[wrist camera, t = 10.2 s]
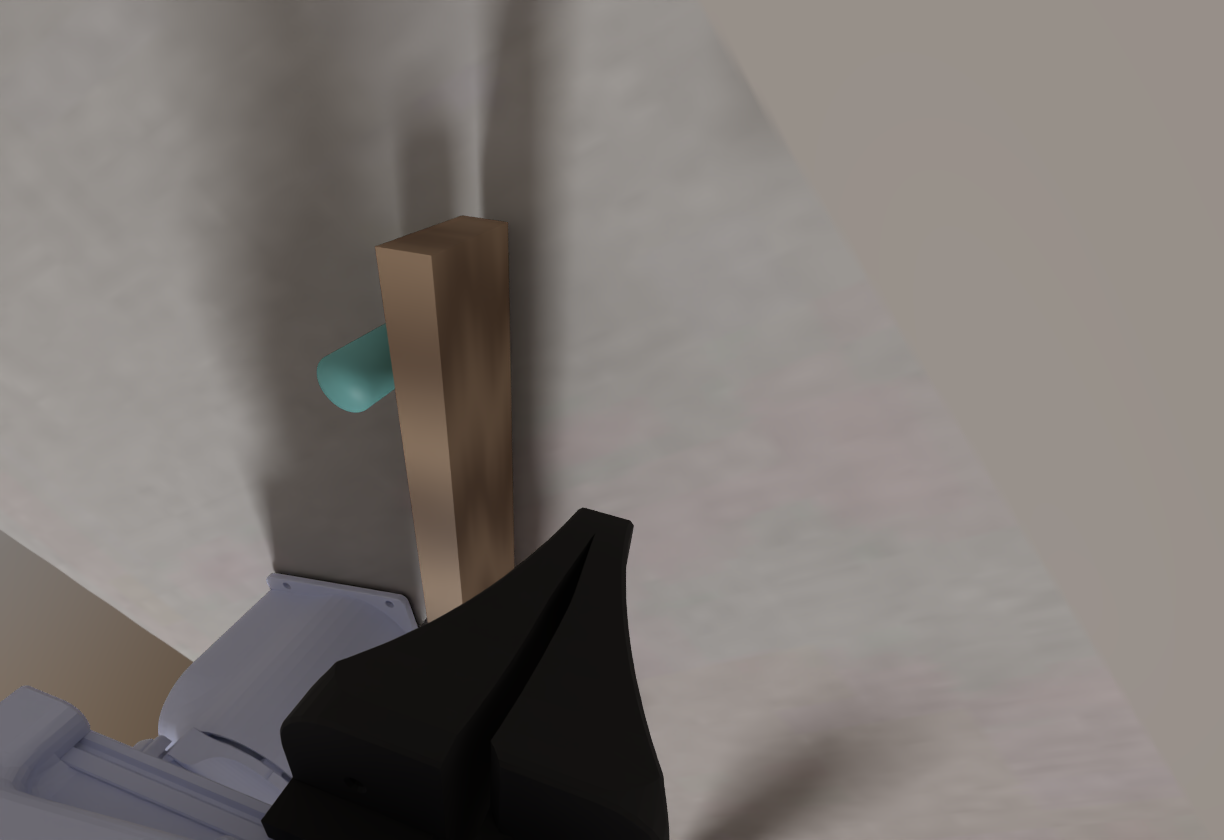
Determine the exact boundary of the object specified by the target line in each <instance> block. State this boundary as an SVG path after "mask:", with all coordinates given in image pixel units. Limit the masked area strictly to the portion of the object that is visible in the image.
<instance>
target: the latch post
mask: <svg viewBox="0 0 1224 840" xmlns="http://www.w3.org/2000/svg"><path fill="white" fill-rule="evenodd" d="M317 379H318V382H319V385H320V387H321V389H322V391H323V392H324V394H325V395H326V396H327V397H328V398H329V400H330V401H332V402H333V403H334V404H335V405H336V406H338V407H340V408H341V409H343V410H346V411H349V412H362V411H365V410H366V409H368V408H369V407H370V406H372V405H373V404H375V403H376V402H377V401H379V400H380V399H381V398H383V397H384V396H386V395H387V394H388V393H390V392H391V391H392V390H394V389H395V385H394V378H393V371H392V364H391V357H390V350H389V343H388V335H387V328H386V323H385V324H383V325H381V326H380V327H378V328H376V329H374V330H372V331H371V332H369V333H367V334H365V335H363V336H362V337H360V338H358V339H356V340H354V341H353V342H351V343H349V344H347V345H345V346H344V347H342V348H340V349H338V350H336V351H334V352H333V353H331V354H329V355H327V356H325V357H324V358H322V359H321V360H320V362H319V364H318V366H317Z"/></svg>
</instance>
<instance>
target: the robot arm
mask: <svg viewBox="0 0 1224 840" xmlns="http://www.w3.org/2000/svg"><path fill="white" fill-rule="evenodd" d="M633 527H634V525H633V524H632V522H631V521H630V520H626V519H623V518H619V517H615V516H612V515H608V514H605V513H601V512H598V511H594V510H590V509H587V508H581V509H579V510H578V511H577V512H576V513H575V514H574V515H573V516H572V517H571V518H570V519H569V520H568V521H567V522H566V523H565V524H564V525H563V526H562V527H561V528H560V529H559V530H558V531H557V532H556V533H555V534H554V535H553V536H552V537H551V538H550V539H549V540H548V541H546V542H545V543H544V544H543V545H542V546H541V547H539V548H538V549H537V550H536V551H535V552H534V553H533V554H531V555H530V556H529V557H528V558H527V559H525V560H524V561H523V562H522V563H520V564H519V565H518V566H517V567H515V568H514V569H513V570H511V571H510V572H509V573H507V574H506V575H505V576H504V577H502V578H501V579H500V580H498V581H497V582H495V583H494V584H492V585H491V586H490V587H488V588H487V589H485V590H484V591H482V592H481V593H479V594H477V595H476V596H474V597H473V598H471V599H470V600H468V601H466V602H465V603H463V604H461V605H460V606H458V607H456V608H454V609H453V610H451V611H449V612H448V613H446V614H444V615H442V616H440V617H439V618H437V619H435V620H433V621H431V622H429V623H427V624H425V625H423V626H421V627H419V628H418V626H417V623H416V621H415V618H414V615H413V612H412V609H411V607H410V604H409V601H408V599H407V598H406V597H405V596H403V595H401V594H396V593H390V592H384V591H378V590H372V589H367V588H361V587H355V586H349V585H343V584H337V583H331V582H326V581H320V580H314V579H308V578H302V577H296V576H290V575H285V574H279V573H272V574H270V575H269V576H268V577H267V579H266V581H267V583H268V585H269V587H270V589H271V590H270V591H269V592H268V593H267V594H266V595H265V596H263V597H262V598H261V599H260V600H259V601H258V602H257V603H256V604H255V605H254V606H253V607H252V608H251V609H250V610H249V611H248V612H246V613H245V614H244V615H243V616H242V617H241V618H240V619H239V620H238V621H237V622H236V623H235V624H234V625H233V626H232V627H231V628H229V629H228V630H227V631H226V632H225V633H224V634H223V635H222V636H221V637H220V638H219V639H218V640H217V641H216V642H215V643H214V644H212V645H211V646H210V647H209V648H208V649H207V650H206V651H205V652H204V653H203V654H202V655H201V656H200V657H199V658H198V659H197V660H195V661H194V662H193V663H192V664H191V665H190V666H189V667H188V669H186V671H185V672H184V673H183V674H182V675H181V677H180V678H179V679H178V681H177V682H176V683H175V685H174V687H173V688H172V690H171V691H170V693H169V695H168V697H167V699H166V701H165V703H164V705H163V708H162V711H161V714H160V718H159V724H158V732H159V736H158V737H156V738H155V739H154V740H153V739H147V740H143V741H139V742H138V743H137V744H135V745H134V746H133V747H131V746H128V745H126V744H124V743H121V742H119V741H117V740H114V739H112V738H109V737H107V736H105V735H102V734H100V733H97V732H95V731H92V730H90V725H89V723H88V721H87V719H86V717H85V716H84V715H83V714H82V712H81V711H80V710H79V709H77V708H76V707H74V706H73V705H72V704H70V703H69V702H67V701H65V700H62V699H60V698H57V697H55V696H52V695H50V694H48V693H45V692H43V691H40V690H38V689H35V688H33V687H31V686H21V687H20V688H18V689H17V690H16V691H14V692H13V693H12V694H10V695H9V696H8V697H6V698H5V699H4V700H3V701H1V702H0V840H669V822H668V812H667V803H666V795H665V788H664V777H663V773H662V770H661V767H660V764H659V761H658V758H657V755H656V752H655V749H654V746H653V742H652V739H651V736H650V732H649V729H648V725H647V721H646V718H645V714H644V710H643V706H642V701H641V697H640V693H639V688H638V684H637V680H636V675H635V669H634V663H633V658H632V651H631V645H630V637H629V629H628V618H627V605H626V565H627V559H628V554H629V549H630V543H631V538H632V533H633Z"/></svg>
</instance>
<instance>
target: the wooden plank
mask: <svg viewBox="0 0 1224 840" xmlns="http://www.w3.org/2000/svg"><path fill="white" fill-rule="evenodd" d="M375 250H376V257H377V264H378V271H379V278H380V286H381V293H382V300H383V307H384V314H385V321H386V328H387V335H388V343H389V350H390V357H391V364H392V371H393V378H394V385H395V393H396V400H397V407H398V414H399V421H400V428H401V435H402V442H403V450H404V457H405V464H406V471H407V478H408V485H409V492H410V499H411V507H412V514H413V521H414V528H415V535H416V542H417V549H418V557H419V564H420V571H421V578H422V585H423V592H424V599H425V606H426V614H427V621H428V623H429V622H431V621H433V620H435V619H437V618H439V617H440V616H442V615H444V614H446V613H448V612H449V611H451V610H453V609H454V608H456V607H458V606H460V605H461V604H463V603H465V602H466V601H468V600H470V599H471V598H473V597H474V596H476V595H477V594H479V593H481V592H482V591H484V590H485V589H487V588H488V587H490V586H491V585H492V584H494V583H495V582H497V581H498V580H500V579H501V578H502V577H504V576H505V575H506V574H507V573H509V572H510V571H511V570H513V569H514V518H513V465H512V412H511V358H510V305H509V252H508V222H503V221H496V220H490V219H483V218H476V217H469V216H459V217H456V218H454V219H451V220H448V221H445V222H442V223H440V224H437V225H434V226H431V227H428V228H426V229H423V230H420V231H417V232H414V233H411V234H409V235H406V236H403V237H400V238H397V239H395V240H392V241H389V242H386V243H383V244H381V245H378V246H375Z"/></svg>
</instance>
